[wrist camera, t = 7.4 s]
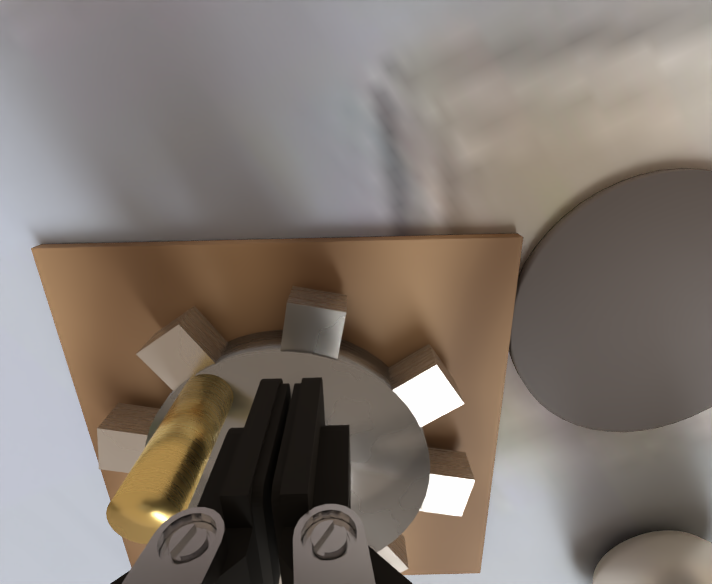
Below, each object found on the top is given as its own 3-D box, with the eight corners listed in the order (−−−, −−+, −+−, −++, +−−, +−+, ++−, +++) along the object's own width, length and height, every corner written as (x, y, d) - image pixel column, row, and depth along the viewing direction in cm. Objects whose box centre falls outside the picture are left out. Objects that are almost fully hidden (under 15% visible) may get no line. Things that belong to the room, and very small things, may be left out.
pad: (838, 165, 14) (855, 166, 13) (739, 420, 17) (750, 428, 17) (525, 171, 14) (531, 173, 13) (493, 426, 17) (497, 434, 17)
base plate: (517, 233, 14) (525, 238, 14) (477, 562, 20) (481, 577, 20) (41, 244, 14) (26, 250, 14) (140, 570, 20) (134, 585, 19)
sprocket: (178, 220, 13) (44, 295, 7) (532, 374, 15) (641, 525, 10) (85, 506, 18) (-46, 694, 12) (371, 594, 20) (379, 788, 14)
